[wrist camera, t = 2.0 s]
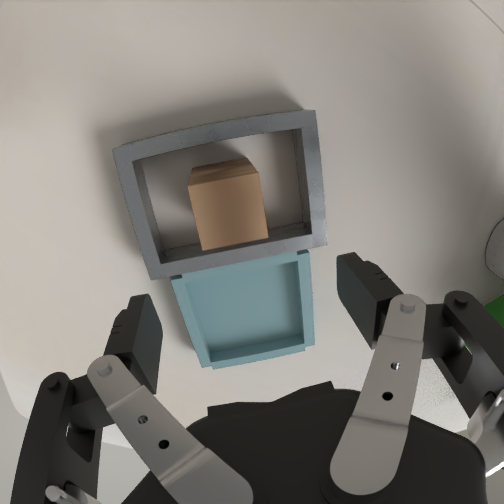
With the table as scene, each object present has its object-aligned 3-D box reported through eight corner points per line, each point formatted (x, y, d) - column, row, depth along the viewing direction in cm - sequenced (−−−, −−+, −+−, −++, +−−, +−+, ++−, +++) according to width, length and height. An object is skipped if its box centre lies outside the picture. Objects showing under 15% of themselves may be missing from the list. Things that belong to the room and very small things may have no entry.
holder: (304, 109, 26) (315, 110, 24) (317, 232, 32) (327, 244, 29) (121, 145, 25) (112, 149, 23) (155, 265, 31) (151, 280, 28)
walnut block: (246, 157, 28) (258, 172, 21) (255, 208, 30) (268, 237, 24) (192, 168, 27) (187, 186, 21) (203, 218, 30) (202, 250, 23)
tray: (301, 236, 32) (308, 247, 29) (309, 334, 38) (314, 348, 35) (171, 262, 31) (168, 274, 29) (202, 356, 37) (203, 370, 35)
